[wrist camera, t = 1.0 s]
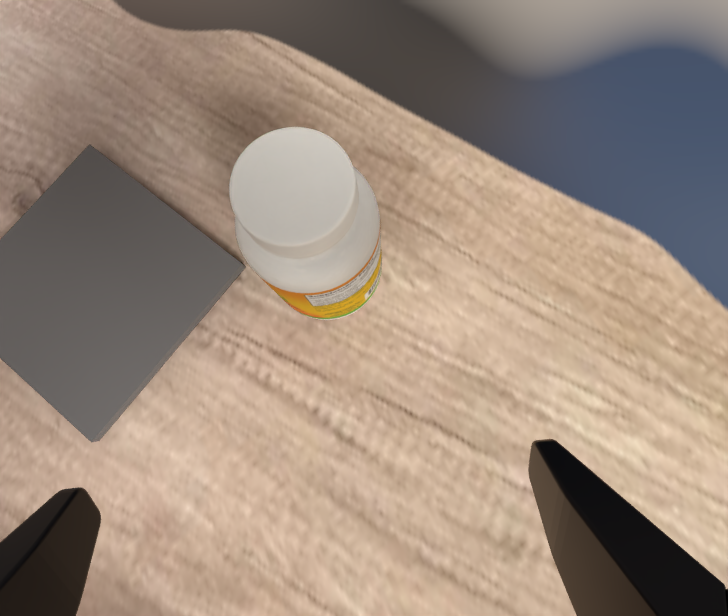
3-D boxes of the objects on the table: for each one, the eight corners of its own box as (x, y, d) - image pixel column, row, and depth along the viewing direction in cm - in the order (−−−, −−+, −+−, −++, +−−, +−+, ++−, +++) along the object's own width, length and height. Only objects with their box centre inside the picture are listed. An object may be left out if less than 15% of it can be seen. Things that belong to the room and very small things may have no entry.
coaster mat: (98, 440, 23) (91, 441, 22) (-49, 305, 25) (-60, 303, 24) (245, 267, 24) (242, 263, 24) (96, 150, 26) (89, 144, 25)
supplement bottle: (261, 244, 24) (181, 144, 15) (356, 204, 25) (338, 79, 15) (299, 339, 23) (239, 296, 14) (398, 296, 24) (407, 225, 14)
